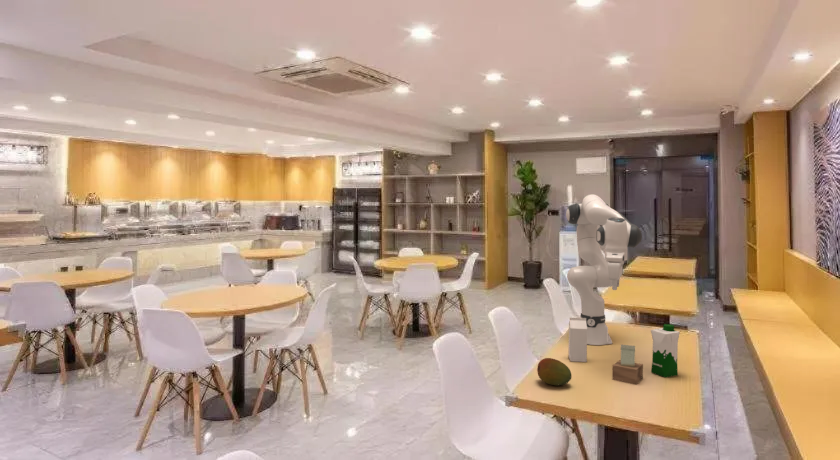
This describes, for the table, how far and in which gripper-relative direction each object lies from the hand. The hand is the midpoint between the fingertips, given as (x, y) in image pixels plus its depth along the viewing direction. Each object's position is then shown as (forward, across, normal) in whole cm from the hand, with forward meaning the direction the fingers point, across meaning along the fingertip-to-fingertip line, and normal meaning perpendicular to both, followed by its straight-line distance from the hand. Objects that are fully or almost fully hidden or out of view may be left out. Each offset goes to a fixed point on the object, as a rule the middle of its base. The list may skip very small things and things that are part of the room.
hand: (615, 288), depth 207 cm
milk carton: (+34, -4, -16) cm, 38 cm away
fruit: (+34, +32, -19) cm, 51 cm away
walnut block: (+34, +13, +6) cm, 37 cm away
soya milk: (+34, 0, +19) cm, 39 cm away
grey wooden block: (+28, +13, +6) cm, 32 cm away
